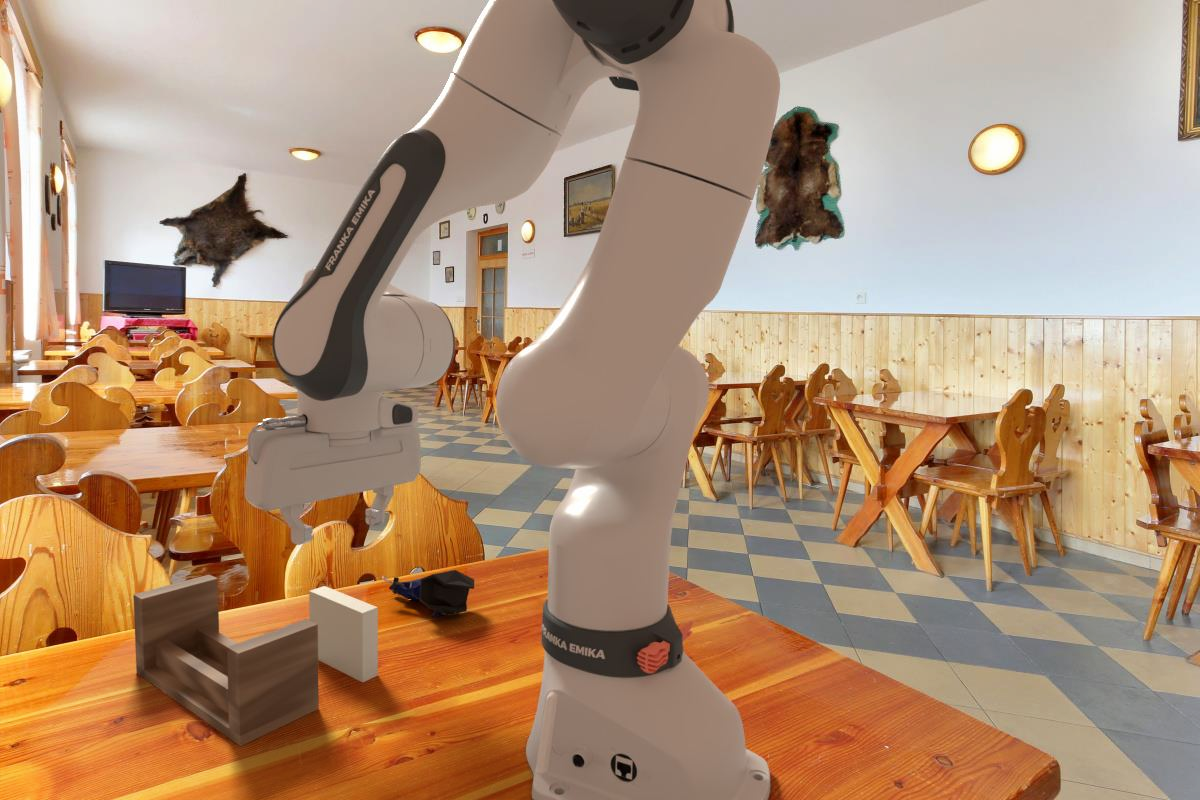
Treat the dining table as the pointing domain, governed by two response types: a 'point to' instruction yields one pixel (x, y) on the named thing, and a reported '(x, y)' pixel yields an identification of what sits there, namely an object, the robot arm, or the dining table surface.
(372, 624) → the door panel
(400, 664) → the dining table surface
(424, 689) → the dining table surface
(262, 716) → the wooden rack
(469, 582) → the toy
